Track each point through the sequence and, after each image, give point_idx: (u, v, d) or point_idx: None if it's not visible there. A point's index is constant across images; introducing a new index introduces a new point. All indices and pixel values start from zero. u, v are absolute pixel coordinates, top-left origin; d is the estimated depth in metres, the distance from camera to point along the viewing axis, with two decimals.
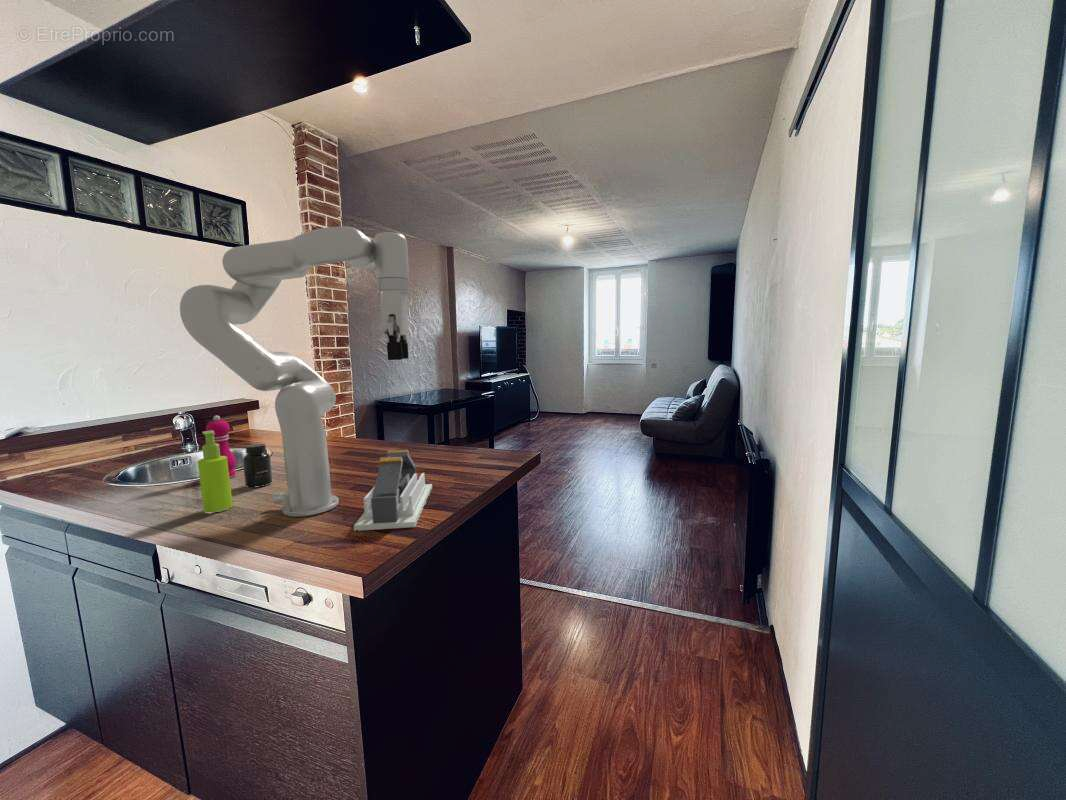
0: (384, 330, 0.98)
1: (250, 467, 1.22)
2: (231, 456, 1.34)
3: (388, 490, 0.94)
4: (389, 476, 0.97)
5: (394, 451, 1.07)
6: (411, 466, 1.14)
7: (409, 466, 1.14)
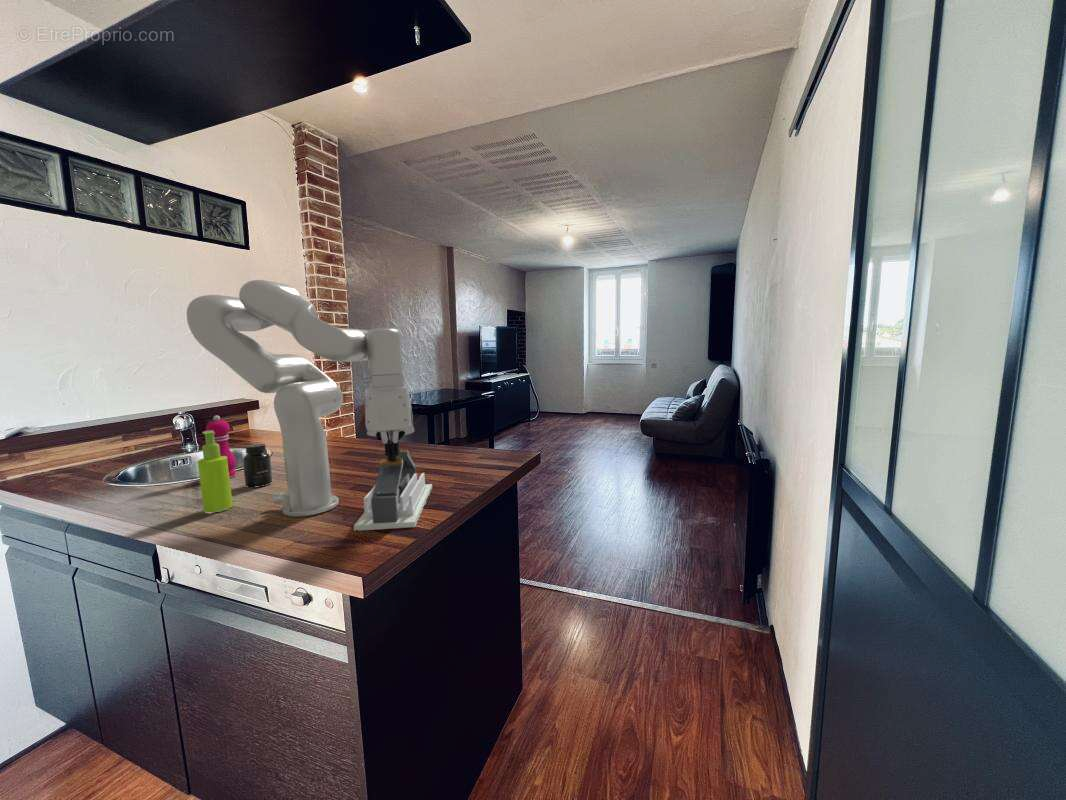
0: (409, 425, 0.99)
1: (250, 467, 1.22)
2: (231, 456, 1.34)
3: (388, 490, 0.94)
4: (389, 477, 0.97)
5: None
6: (411, 466, 1.14)
7: (409, 466, 1.14)
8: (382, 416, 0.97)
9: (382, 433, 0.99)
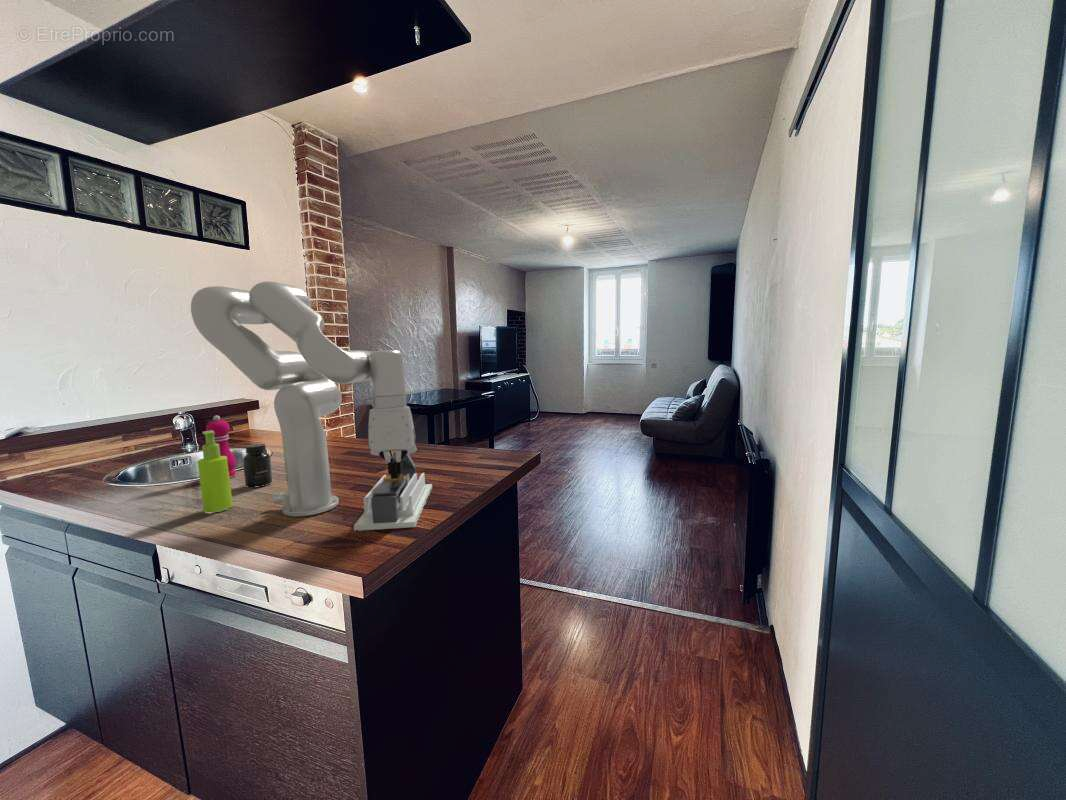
0: (412, 445, 1.00)
1: (250, 467, 1.22)
2: (231, 456, 1.34)
3: (388, 491, 0.94)
4: (391, 485, 0.98)
5: (394, 451, 1.07)
6: (411, 466, 1.14)
7: (409, 466, 1.14)
8: (385, 436, 0.99)
9: (385, 452, 1.01)
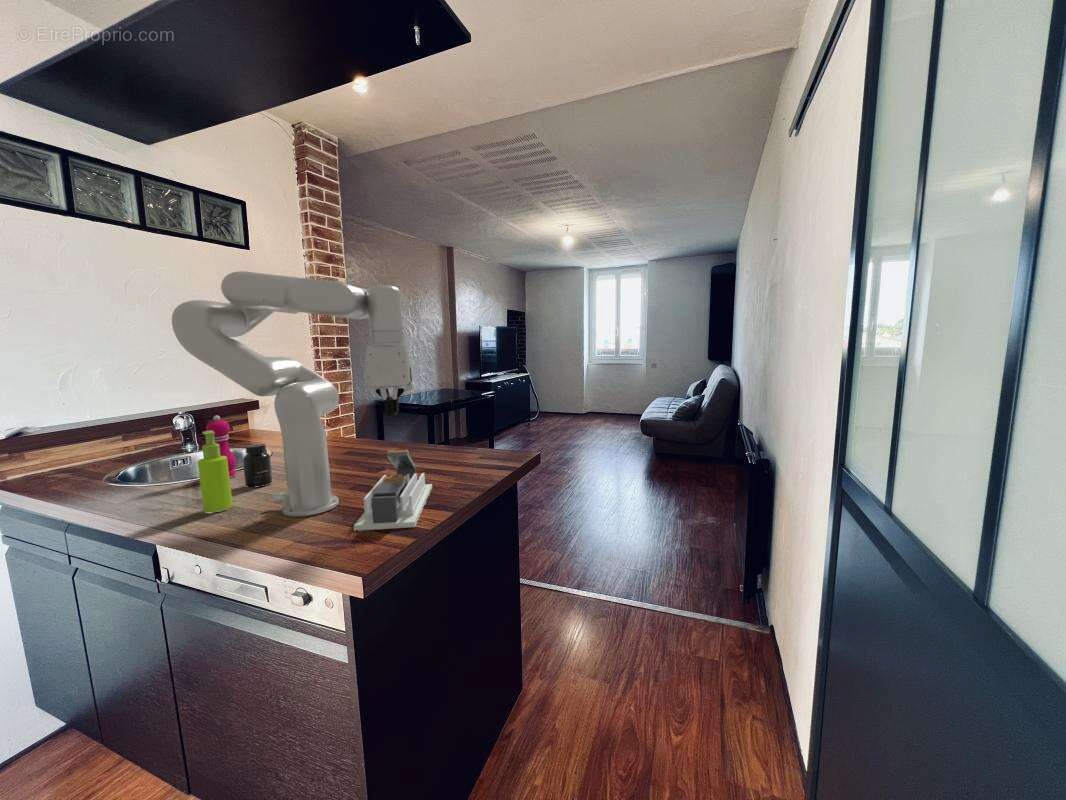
0: (408, 382, 1.00)
1: (250, 467, 1.22)
2: (231, 456, 1.34)
3: (388, 491, 0.94)
4: (391, 485, 0.98)
5: (394, 451, 1.07)
6: (411, 466, 1.14)
7: (409, 466, 1.14)
8: (381, 372, 0.99)
9: (382, 389, 1.01)
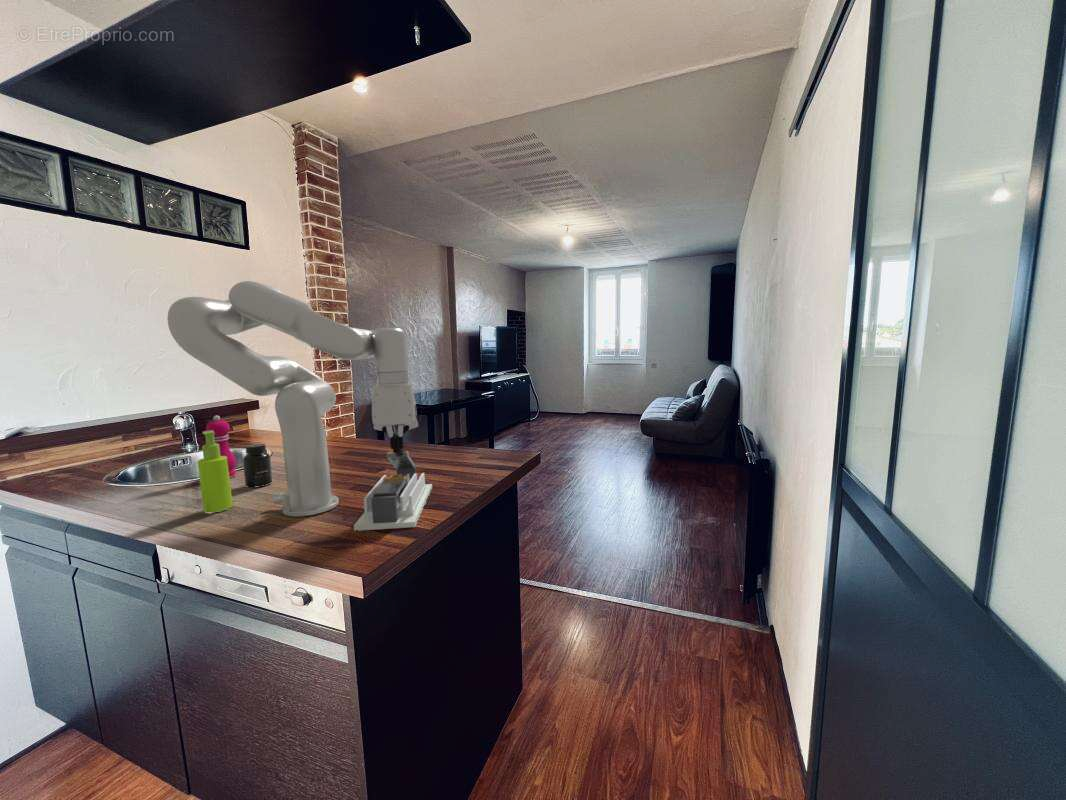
0: (414, 420, 1.04)
1: (250, 467, 1.22)
2: (231, 456, 1.34)
3: (388, 491, 0.94)
4: (391, 485, 0.98)
5: None
6: (411, 466, 1.14)
7: (409, 466, 1.14)
8: (388, 411, 1.02)
9: (388, 427, 1.04)
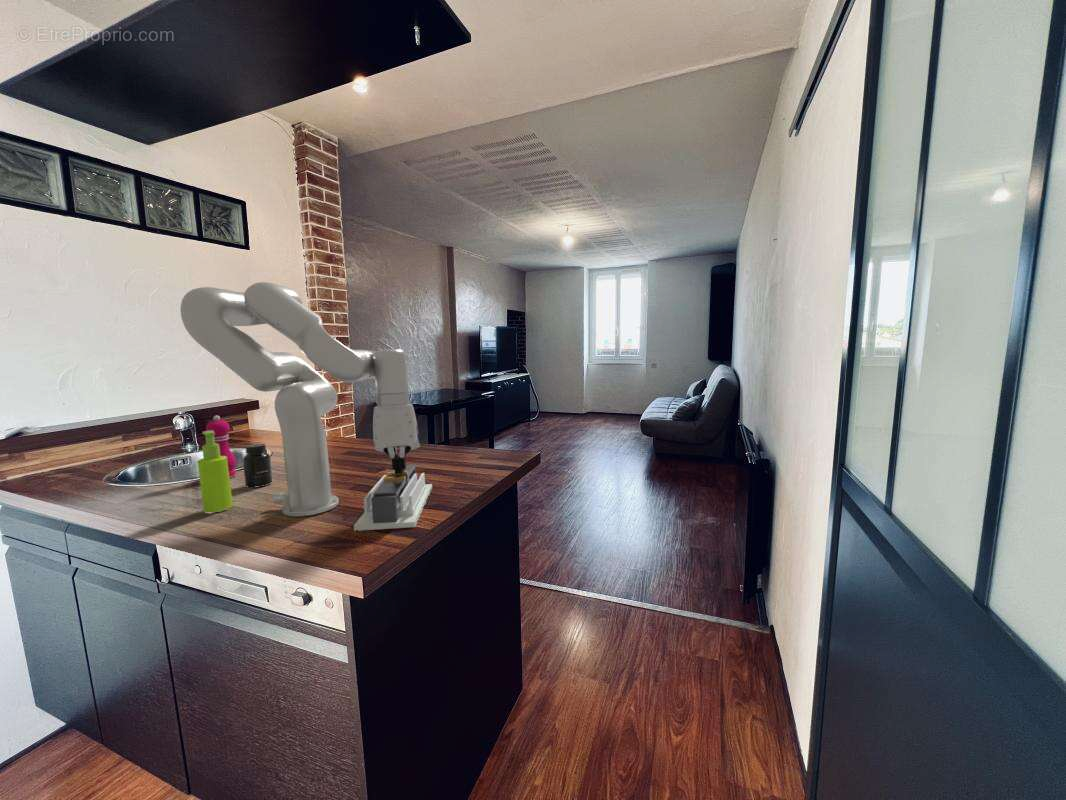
0: (415, 441, 1.03)
1: (250, 467, 1.22)
2: (231, 456, 1.34)
3: (388, 491, 0.94)
4: (391, 485, 0.98)
5: (393, 474, 1.05)
6: None
7: None
8: (389, 433, 1.02)
9: (390, 448, 1.04)
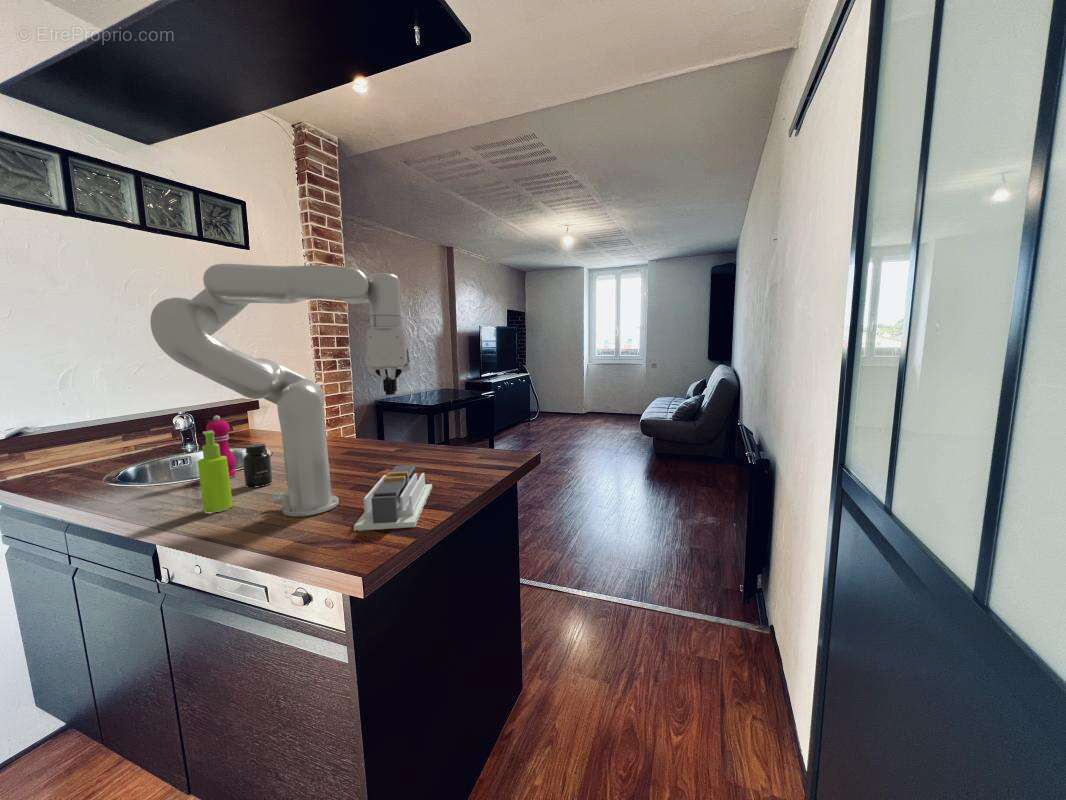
0: (405, 363, 1.08)
1: (250, 467, 1.22)
2: (231, 456, 1.34)
3: (388, 491, 0.94)
4: (391, 485, 0.98)
5: (393, 474, 1.05)
6: None
7: None
8: (381, 353, 1.07)
9: (381, 369, 1.09)
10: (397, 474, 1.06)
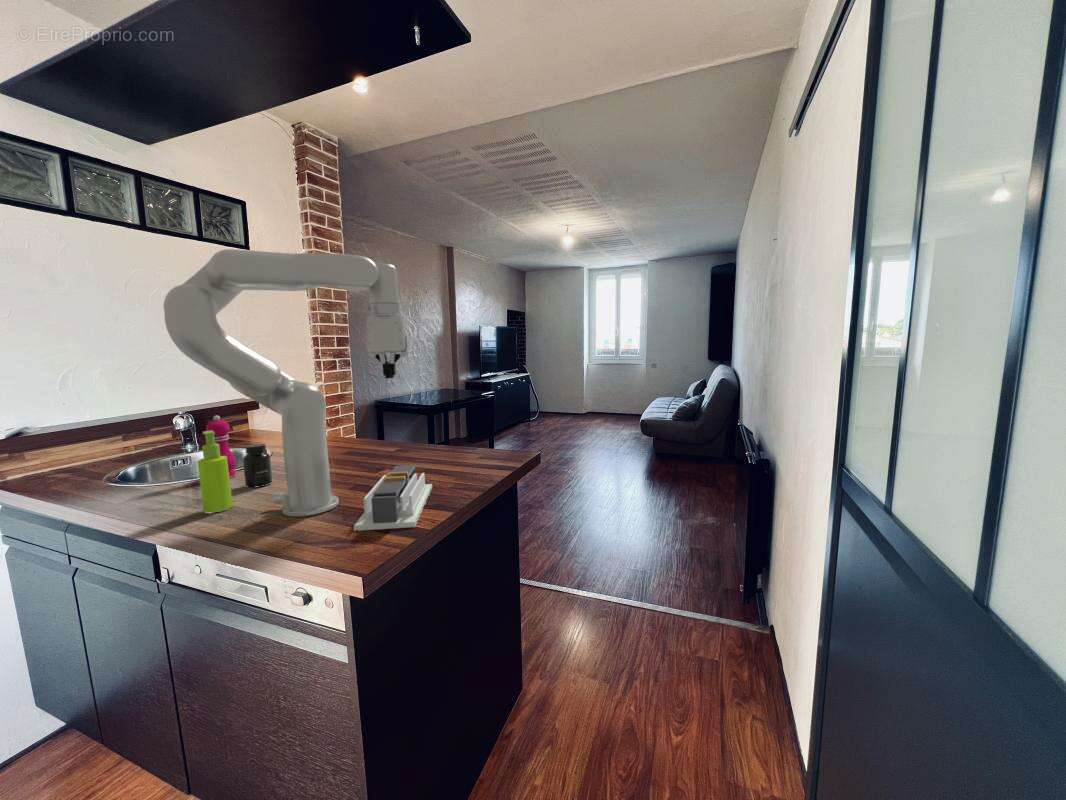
0: (404, 348, 1.16)
1: (250, 467, 1.22)
2: (231, 456, 1.34)
3: (388, 491, 0.94)
4: (391, 485, 0.98)
5: (393, 474, 1.05)
6: None
7: None
8: (380, 339, 1.14)
9: (381, 354, 1.16)
10: (397, 474, 1.06)
